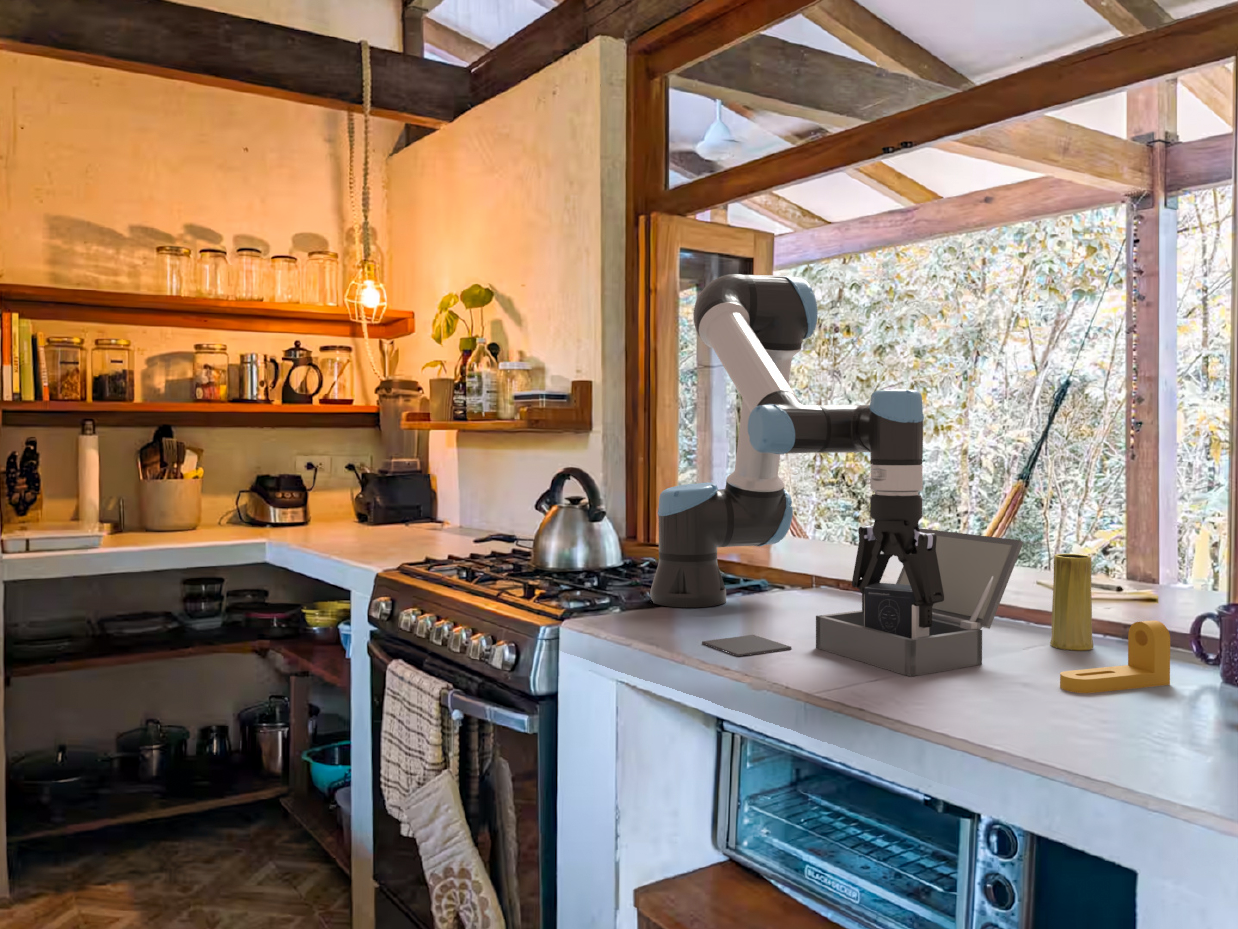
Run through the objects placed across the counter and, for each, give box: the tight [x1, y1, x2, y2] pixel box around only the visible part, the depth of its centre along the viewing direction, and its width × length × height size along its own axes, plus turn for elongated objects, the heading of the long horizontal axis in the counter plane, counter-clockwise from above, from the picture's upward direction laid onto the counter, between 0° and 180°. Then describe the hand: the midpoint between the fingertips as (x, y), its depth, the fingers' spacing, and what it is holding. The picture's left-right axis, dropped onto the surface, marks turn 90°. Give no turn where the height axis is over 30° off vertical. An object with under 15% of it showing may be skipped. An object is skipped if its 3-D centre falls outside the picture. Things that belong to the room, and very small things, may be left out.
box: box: [864, 582, 924, 639], centre depth 142 cm, size 8×6×11 cm
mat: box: [701, 634, 792, 657], centre depth 149 cm, size 10×10×1 cm
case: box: [815, 527, 1024, 677], centre depth 144 cm, size 20×22×18 cm
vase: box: [1049, 553, 1094, 652], centre depth 147 cm, size 6×6×14 cm
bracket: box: [1059, 620, 1171, 694], centre depth 125 cm, size 15×4×8 cm, turn 107°
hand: (895, 642), depth 142 cm, fingers closed on box, 9 cm apart
